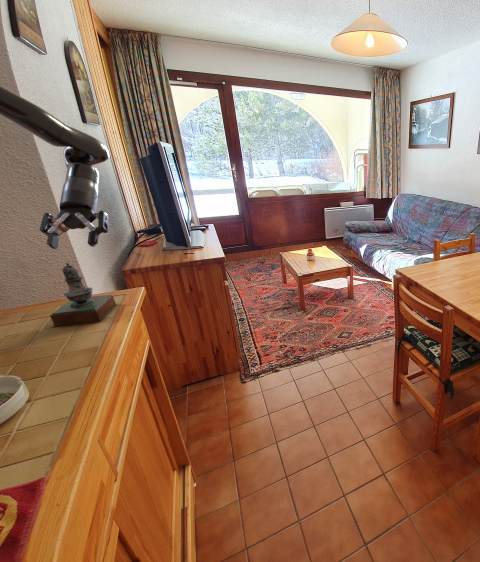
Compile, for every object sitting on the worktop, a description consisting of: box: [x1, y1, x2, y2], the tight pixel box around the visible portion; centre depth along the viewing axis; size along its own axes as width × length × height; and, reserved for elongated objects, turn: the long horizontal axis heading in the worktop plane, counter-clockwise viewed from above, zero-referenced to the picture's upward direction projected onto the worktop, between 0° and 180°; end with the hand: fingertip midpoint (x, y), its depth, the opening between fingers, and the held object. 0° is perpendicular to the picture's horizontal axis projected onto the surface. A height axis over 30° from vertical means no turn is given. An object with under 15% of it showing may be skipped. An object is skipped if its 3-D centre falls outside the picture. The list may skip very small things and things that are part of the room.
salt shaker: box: [61, 262, 96, 308], centre depth 83 cm, size 6×6×12 cm
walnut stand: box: [49, 294, 117, 327], centre depth 86 cm, size 10×10×4 cm
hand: (72, 246), depth 84 cm, fingers open, 8 cm apart
